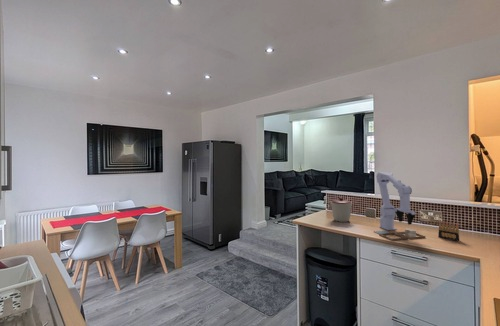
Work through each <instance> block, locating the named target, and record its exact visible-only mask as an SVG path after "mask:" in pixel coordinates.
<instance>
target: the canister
mask: <svg viewBox="0 0 500 326" xmlns="http://www.w3.org/2000/svg"><path fill="white" fill-rule="evenodd" d="M330 204H331V211H332V212H331V213H332V218H333V220H334V221H336V222H338V221H339V223H345V222H349V220H351V214H352V213H351V212H352V204H353V202H352V201H350V200H349V199H348V200H347V199H344V197H343V196H339V198H338V199H333V200H331V201H330Z"/></svg>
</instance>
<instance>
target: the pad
mask: <svg viewBox="0 0 500 326" xmlns="http://www.w3.org/2000/svg"><path fill="white" fill-rule="evenodd" d="M373 233H375V234H378V235H379V234H382V233H392V232H391V231H389V230H376V231H375V230H374V231H373Z"/></svg>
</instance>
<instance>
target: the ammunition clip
mask: <svg viewBox="0 0 500 326" xmlns="http://www.w3.org/2000/svg"><path fill="white" fill-rule="evenodd" d="M438 238H440V239H445V240H451V241H456V242H460V229H459V222H456V223H455V222H454V221H453V222H451V221H449V223H448V220H446V221H445V220H440V219H439V221H438Z"/></svg>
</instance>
